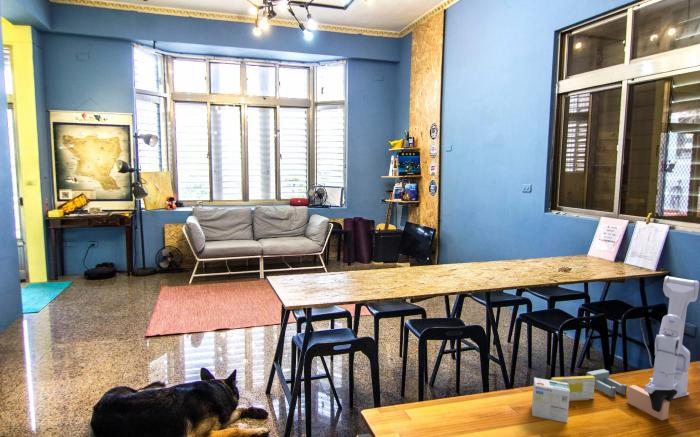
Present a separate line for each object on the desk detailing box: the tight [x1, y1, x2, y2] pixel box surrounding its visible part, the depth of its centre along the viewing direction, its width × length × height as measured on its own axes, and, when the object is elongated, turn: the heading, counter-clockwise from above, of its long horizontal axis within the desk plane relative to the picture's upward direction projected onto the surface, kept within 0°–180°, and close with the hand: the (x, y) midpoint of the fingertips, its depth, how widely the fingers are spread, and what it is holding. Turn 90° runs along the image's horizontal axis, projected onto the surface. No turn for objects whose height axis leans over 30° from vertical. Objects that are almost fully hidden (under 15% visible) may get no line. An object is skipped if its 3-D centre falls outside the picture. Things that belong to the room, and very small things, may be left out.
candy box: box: [550, 375, 595, 402], centre depth 158 cm, size 16×2×8 cm, turn 99°
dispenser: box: [586, 368, 628, 398], centre depth 167 cm, size 9×10×5 cm
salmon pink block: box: [626, 384, 671, 421], centre depth 153 cm, size 3×12×6 cm, turn 22°
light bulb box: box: [531, 376, 570, 424], centre depth 147 cm, size 11×7×11 cm, turn 71°
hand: (659, 409), depth 149 cm, fingers closed on salmon pink block, 3 cm apart
